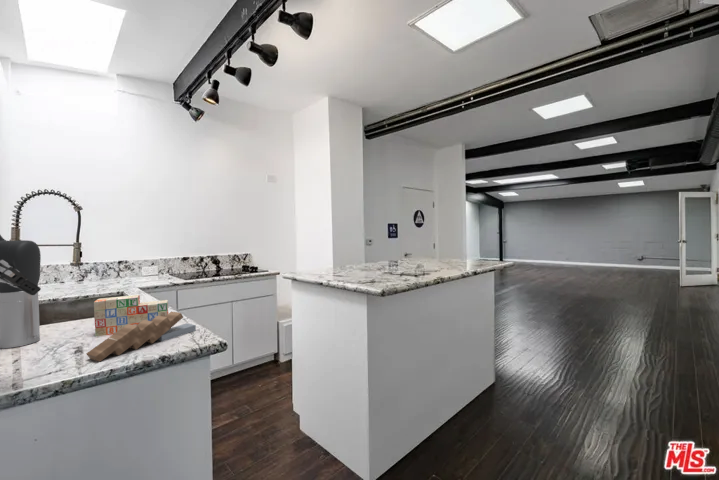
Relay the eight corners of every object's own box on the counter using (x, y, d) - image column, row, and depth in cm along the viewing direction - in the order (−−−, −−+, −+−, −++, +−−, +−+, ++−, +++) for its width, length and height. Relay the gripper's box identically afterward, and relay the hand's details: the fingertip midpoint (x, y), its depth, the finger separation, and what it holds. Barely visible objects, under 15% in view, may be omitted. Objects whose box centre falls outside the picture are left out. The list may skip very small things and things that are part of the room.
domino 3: (132, 344, 92) (167, 317, 102) (122, 342, 94) (157, 315, 104) (136, 349, 93) (170, 321, 103) (126, 347, 95) (160, 320, 105)
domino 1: (95, 356, 84) (137, 325, 93) (85, 353, 86) (128, 323, 96) (99, 361, 85) (141, 330, 94) (90, 358, 87) (131, 328, 96)
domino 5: (161, 335, 100) (195, 324, 111) (152, 333, 102) (186, 323, 113) (162, 341, 100) (195, 330, 111) (152, 339, 103) (186, 328, 113)
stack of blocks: (169, 323, 122) (168, 291, 121) (167, 327, 116) (167, 294, 116) (99, 332, 111) (98, 298, 111) (94, 337, 106) (93, 301, 106)
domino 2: (114, 350, 88) (153, 321, 98) (105, 347, 90) (143, 319, 100) (118, 355, 89) (156, 326, 98) (109, 352, 91) (146, 324, 101)
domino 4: (149, 338, 97) (180, 312, 106) (139, 336, 99) (171, 311, 108) (152, 343, 98) (183, 317, 107) (142, 341, 100) (174, 315, 109)
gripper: (-76, 256, 65) (10, 300, 77) (-57, 261, 60) (33, 309, 71) (-37, 230, 70) (39, 276, 82) (-16, 233, 64) (62, 282, 76)
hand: (36, 291), depth 76 cm, fingers closed
